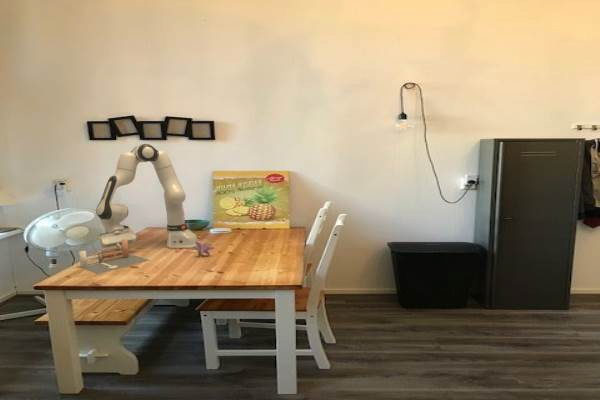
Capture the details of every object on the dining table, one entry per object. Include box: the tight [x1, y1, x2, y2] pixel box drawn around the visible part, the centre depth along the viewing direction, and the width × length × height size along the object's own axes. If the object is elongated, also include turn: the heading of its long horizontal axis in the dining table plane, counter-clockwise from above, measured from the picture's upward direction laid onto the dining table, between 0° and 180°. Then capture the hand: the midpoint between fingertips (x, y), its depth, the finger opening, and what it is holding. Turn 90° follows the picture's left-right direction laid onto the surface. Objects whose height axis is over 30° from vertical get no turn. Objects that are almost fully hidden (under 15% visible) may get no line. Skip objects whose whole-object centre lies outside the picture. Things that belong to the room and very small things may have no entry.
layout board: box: [78, 253, 150, 275], centre depth 212 cm, size 22×30×1 cm
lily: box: [191, 240, 215, 259], centre depth 223 cm, size 12×12×10 cm
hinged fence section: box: [101, 239, 130, 261], centre depth 219 cm, size 3×14×10 cm, turn 137°
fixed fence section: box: [78, 250, 103, 269], centre depth 209 cm, size 3×12×8 cm, turn 143°
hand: (123, 249), depth 225 cm, fingers closed, pressing on hinged fence section
